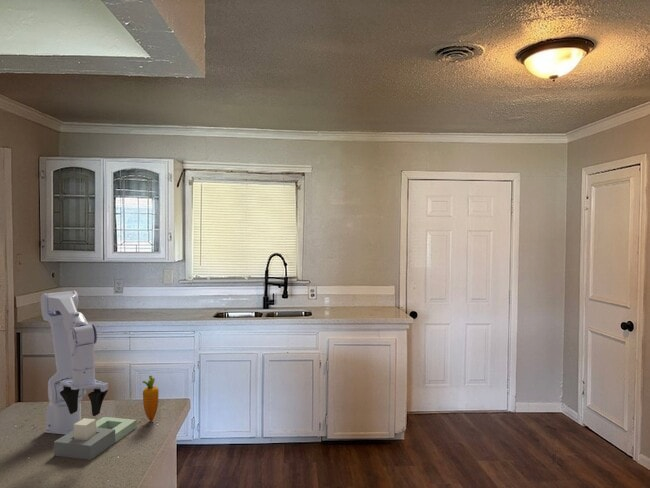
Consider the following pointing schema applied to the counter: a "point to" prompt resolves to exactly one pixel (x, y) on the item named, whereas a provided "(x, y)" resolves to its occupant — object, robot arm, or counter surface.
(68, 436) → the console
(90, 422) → the peg
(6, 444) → the counter surface
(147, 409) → the carrot
